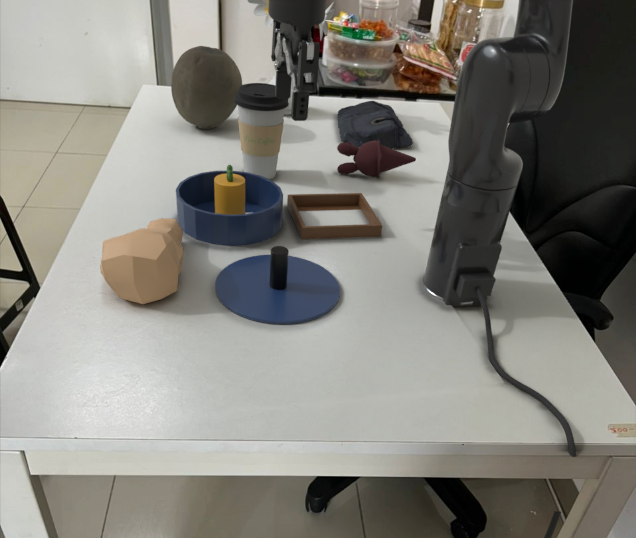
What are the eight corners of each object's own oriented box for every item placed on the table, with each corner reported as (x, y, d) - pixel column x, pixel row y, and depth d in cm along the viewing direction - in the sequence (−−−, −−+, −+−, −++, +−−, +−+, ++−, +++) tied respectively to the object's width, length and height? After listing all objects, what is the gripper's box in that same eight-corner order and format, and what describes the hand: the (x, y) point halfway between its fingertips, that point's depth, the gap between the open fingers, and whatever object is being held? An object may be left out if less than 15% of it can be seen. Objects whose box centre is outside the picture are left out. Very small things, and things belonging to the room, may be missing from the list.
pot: (290, 246, 101) (291, 214, 97) (182, 251, 97) (180, 217, 93) (271, 200, 112) (272, 169, 109) (174, 202, 109) (172, 171, 105)
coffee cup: (244, 188, 115) (244, 100, 105) (227, 167, 121) (226, 82, 112) (292, 183, 119) (297, 97, 109) (274, 163, 125) (277, 80, 115)
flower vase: (323, 124, 143) (334, -6, 127) (241, 115, 144) (242, -16, 127) (327, 106, 153) (338, -17, 137) (251, 97, 153) (252, -27, 137)
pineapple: (247, 227, 103) (247, 171, 97) (217, 228, 102) (215, 171, 96) (242, 214, 107) (243, 158, 100) (213, 215, 106) (212, 159, 99)
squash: (97, 316, 83) (76, 250, 78) (134, 258, 100) (119, 200, 95) (179, 309, 83) (163, 242, 77) (203, 252, 99) (191, 193, 94)
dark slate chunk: (398, 116, 152) (402, 95, 149) (414, 151, 135) (418, 128, 132) (334, 112, 150) (336, 90, 147) (342, 147, 134) (344, 123, 131)
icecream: (415, 137, 124) (337, 137, 124) (419, 141, 117) (337, 141, 117) (412, 175, 127) (336, 175, 127) (416, 181, 120) (336, 180, 120)
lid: (353, 323, 86) (359, 281, 82) (223, 332, 82) (222, 288, 78) (323, 258, 99) (327, 218, 94) (209, 263, 95) (207, 222, 90)
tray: (380, 239, 105) (382, 225, 103) (301, 242, 102) (302, 228, 100) (360, 206, 114) (361, 192, 112) (286, 208, 111) (287, 194, 109)
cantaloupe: (222, 142, 130) (220, 62, 121) (161, 128, 134) (154, 49, 124) (252, 122, 141) (253, 46, 131) (194, 110, 144) (191, 35, 134)
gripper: (256, -36, 86) (253, 92, 97) (286, -11, 76) (278, 128, 87) (310, -33, 88) (301, 91, 99) (345, -8, 78) (330, 127, 89)
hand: (290, 108), depth 93 cm, fingers open, 8 cm apart
